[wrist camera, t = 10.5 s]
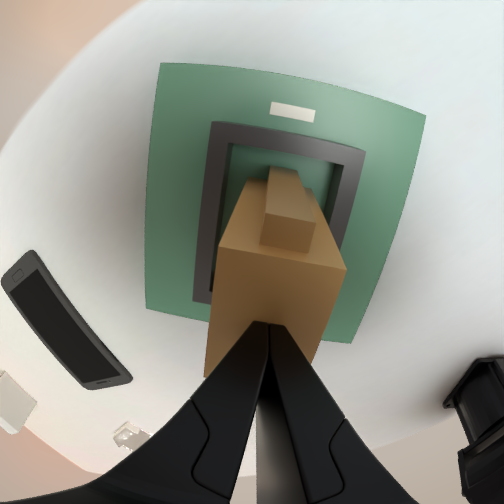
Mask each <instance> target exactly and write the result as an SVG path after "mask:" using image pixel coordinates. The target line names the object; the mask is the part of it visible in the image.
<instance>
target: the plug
mask: <svg viewBox="0 0 504 504" xmlns="http://www.w3.org/2000/svg"><path fill="white" fill-rule="evenodd" d="M346 271H347V269H346V266H345V264H344V261H343V259H342V257H341V254H340V252H339V249H338V247H337V245H336V242H335V240H334V238H333V236H332V233H331V231H330V229H329V226H328V224H327V222H326V220H325V217H324V215H323V213H322V211H321V209H320V207H319V204H318V202H317V200H316V198H315V196H314V194H313V192H312V189H311V188H306V187H303V185H302V183H301V180H300V178H299V175H298V172H297V170H293V169H288V168H283V167H278V166H272V165H270V170H269V175H268V180H266V179H260V178H255V177H248V179H247V181H246V183H245V186H244V188H243V190H242V192H241V195H240V197H239V199H238V202H237V204H236V206H235V208H234V211H233V213H232V215H231V218H230V220H229V222H228V225H227V227H226V229H225V232H224V234H223V236H222V239H221V241H220V244H219V246H218V253H217V261H216V269H215V277H214V285H213V293H212V302H211V310H210V319H209V328H208V338H207V347H206V357H205V367H204V377H205V378H207V377H208V376H209V374H210V373H211V372H212V371H213V369H214V368H215V367H216V366H217V365H218V363H219V362H220V361H221V360H222V359H223V357H224V356H225V355H226V354H227V352H228V351H229V350H230V349H231V347H232V346H233V345H234V344H235V342H236V341H237V340H238V339H239V337H240V336H241V335H242V334H243V332H244V331H245V330H246V329H247V327H248V326H249V325H250V324H251V322H252V321H254V320H256V321H262V322H267V323H268V324H270V323H274V324H281V325H284V326H286V328H287V329H288V331H289V332H290V334H291V335H292V337H293V339H294V340H295V342H296V343H297V345H298V346H299V348H300V349H301V351H302V352H303V354H304V355H305V357H306V358H307V360H308V361H309V363H310V364H311V363H312V360H313V358H314V355H315V353H316V351H317V348H318V346H319V343H320V341H321V338H322V336H323V333H324V331H325V328H326V326H327V323H328V321H329V318H330V316H331V313H332V310H333V308H334V305H335V302H336V300H337V297H338V294H339V291H340V288H341V286H342V283H343V280H344V277H345V274H346Z"/></svg>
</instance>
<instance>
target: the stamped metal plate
mask: <svg viewBox="0 0 504 504" xmlns="http://www.w3.org/2000/svg"><path fill="white" fill-rule="evenodd" d="M152 436H153V435H152V434H150V433H148V432H146V431H144V430H143V429H141V428H139V427H137V426H135V425H133V424H132V423H130V422H127V423H126V424H124V425H123V426H122V427H121V428H120V429H118V430H117V431H116V432H115V434H114V436H113V439H114V440H115V442H116V444H117V445H118V447H120V446H122V445H123V447H125V448H127V449H129V450H131V451H133V452H134V451H135V450H136V449H137V448H139V447H140V446H141V445H142V444H144V443H145V442H146V441H147V440H149V439H150V438H151V437H152Z"/></svg>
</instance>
